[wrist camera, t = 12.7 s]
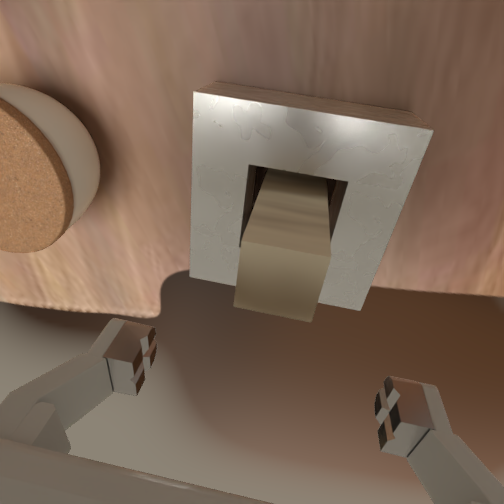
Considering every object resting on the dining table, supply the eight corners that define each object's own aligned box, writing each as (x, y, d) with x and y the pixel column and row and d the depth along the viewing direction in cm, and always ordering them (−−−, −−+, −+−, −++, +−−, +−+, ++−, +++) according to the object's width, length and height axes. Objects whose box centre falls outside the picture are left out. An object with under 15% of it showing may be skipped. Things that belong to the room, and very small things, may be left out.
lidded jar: (133, 213, 30) (68, 277, 22) (22, 200, 31) (-78, 257, 23) (110, 75, 24) (8, 96, 16) (-27, 66, 25) (-183, 82, 17)
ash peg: (271, 157, 25) (241, 240, 15) (325, 166, 25) (331, 257, 15) (264, 206, 27) (233, 306, 17) (313, 215, 27) (311, 322, 17)
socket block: (216, 81, 23) (193, 91, 19) (411, 111, 22) (434, 130, 18) (207, 243, 30) (189, 276, 26) (354, 271, 29) (360, 310, 25)
